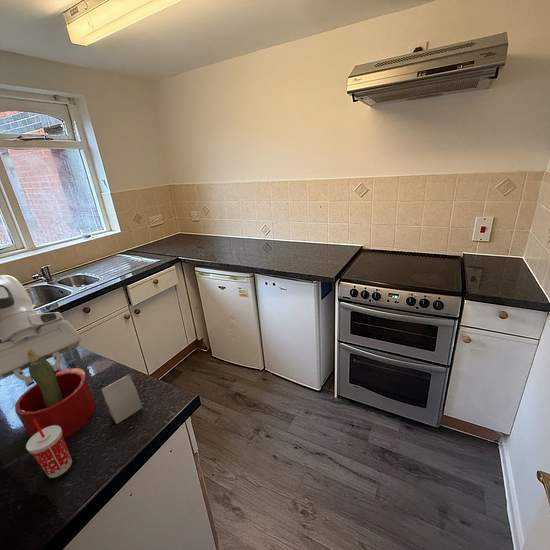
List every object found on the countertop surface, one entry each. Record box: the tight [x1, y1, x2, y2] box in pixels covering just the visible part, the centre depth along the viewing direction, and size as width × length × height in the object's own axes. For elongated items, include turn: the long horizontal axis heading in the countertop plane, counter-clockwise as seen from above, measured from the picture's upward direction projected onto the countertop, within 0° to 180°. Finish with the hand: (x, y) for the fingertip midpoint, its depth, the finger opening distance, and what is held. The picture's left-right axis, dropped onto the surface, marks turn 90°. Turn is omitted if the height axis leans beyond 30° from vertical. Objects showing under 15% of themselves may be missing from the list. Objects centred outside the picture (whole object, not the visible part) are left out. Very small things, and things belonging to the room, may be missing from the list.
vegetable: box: [27, 349, 63, 408], centre depth 74 cm, size 4×4×20 cm
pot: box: [14, 371, 97, 439], centre depth 77 cm, size 15×15×10 cm
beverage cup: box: [25, 419, 73, 479], centre depth 63 cm, size 6×6×14 cm
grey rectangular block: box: [101, 374, 144, 425], centre depth 77 cm, size 4×7×10 cm, turn 135°
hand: (45, 377), depth 73 cm, fingers closed on vegetable, 4 cm apart
